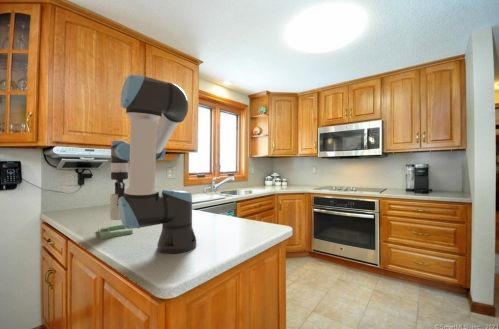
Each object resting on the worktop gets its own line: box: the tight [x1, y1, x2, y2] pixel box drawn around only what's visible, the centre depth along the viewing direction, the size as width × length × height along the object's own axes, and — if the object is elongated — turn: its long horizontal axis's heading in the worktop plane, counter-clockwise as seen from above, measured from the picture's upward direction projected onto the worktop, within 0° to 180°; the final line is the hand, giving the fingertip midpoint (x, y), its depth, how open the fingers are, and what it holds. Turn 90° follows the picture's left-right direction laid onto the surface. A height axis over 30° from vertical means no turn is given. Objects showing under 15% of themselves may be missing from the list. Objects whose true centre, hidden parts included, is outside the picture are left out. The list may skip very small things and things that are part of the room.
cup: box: [109, 193, 121, 221], centre depth 114 cm, size 8×8×12 cm
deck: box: [97, 223, 134, 240], centre depth 113 cm, size 16×13×3 cm
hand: (119, 216), depth 114 cm, fingers closed on cup, 8 cm apart
